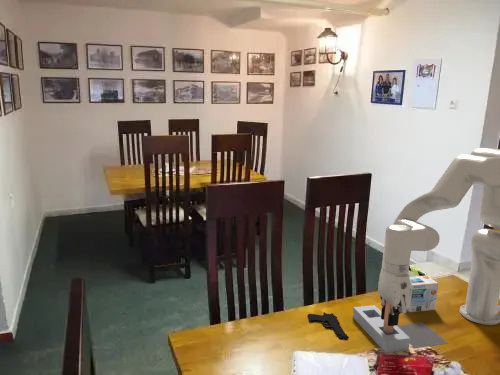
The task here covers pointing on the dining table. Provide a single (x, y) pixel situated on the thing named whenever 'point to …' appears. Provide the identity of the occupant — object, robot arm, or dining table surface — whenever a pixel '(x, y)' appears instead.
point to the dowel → (387, 311)
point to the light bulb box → (422, 294)
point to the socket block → (380, 329)
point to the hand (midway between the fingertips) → (389, 321)
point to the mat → (421, 335)
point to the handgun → (329, 323)
